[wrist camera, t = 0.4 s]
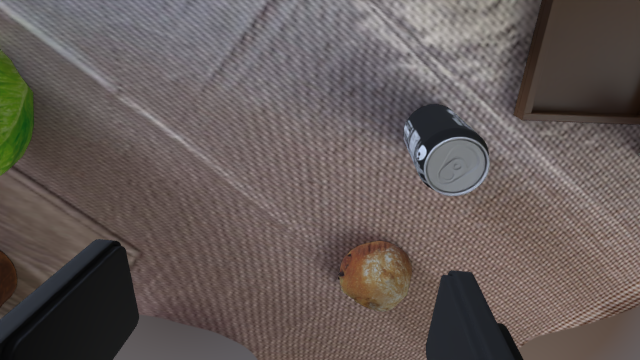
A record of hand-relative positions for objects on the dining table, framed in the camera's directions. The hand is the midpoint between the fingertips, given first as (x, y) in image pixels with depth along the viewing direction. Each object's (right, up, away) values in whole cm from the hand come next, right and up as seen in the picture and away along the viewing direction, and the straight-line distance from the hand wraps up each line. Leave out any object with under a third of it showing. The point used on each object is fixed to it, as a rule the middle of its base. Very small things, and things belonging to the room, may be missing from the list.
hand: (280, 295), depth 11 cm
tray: (+31, +18, +27) cm, 45 cm away
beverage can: (+14, +10, +33) cm, 37 cm away
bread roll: (+9, -9, +42) cm, 44 cm away
